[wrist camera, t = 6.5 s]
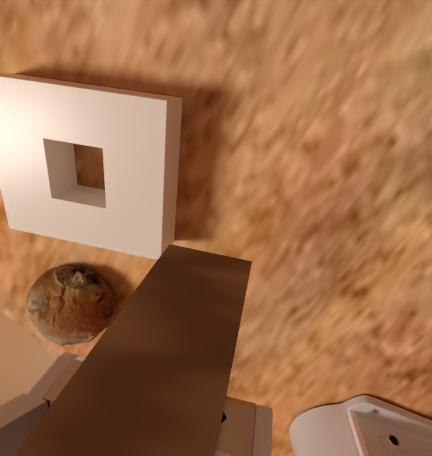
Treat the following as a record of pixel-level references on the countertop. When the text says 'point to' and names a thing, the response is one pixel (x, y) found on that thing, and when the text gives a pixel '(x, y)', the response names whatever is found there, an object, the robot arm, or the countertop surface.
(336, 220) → the countertop surface
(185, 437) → the walnut peg
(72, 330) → the bread roll
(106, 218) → the socket block
